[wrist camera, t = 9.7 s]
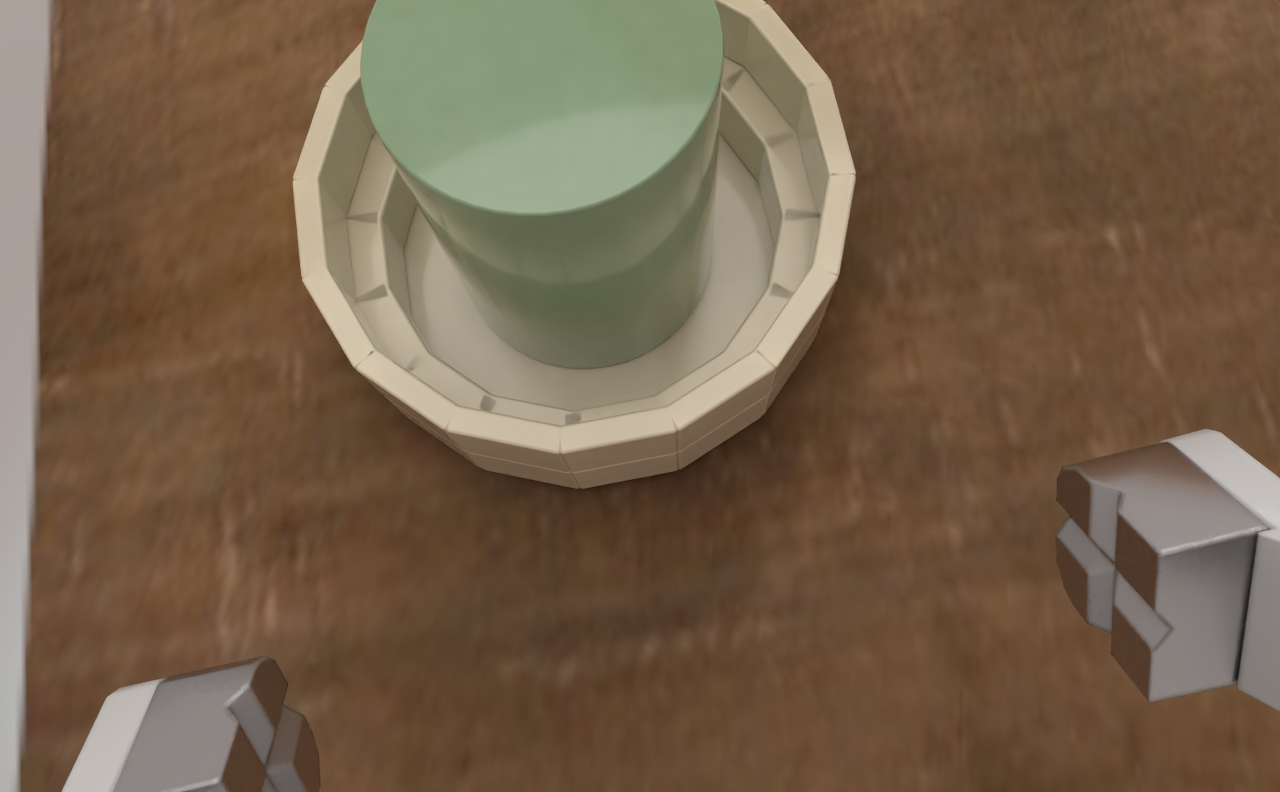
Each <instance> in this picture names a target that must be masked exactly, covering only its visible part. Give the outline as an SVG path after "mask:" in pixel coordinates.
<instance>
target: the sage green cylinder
mask: <svg viewBox="0 0 1280 792" xmlns="http://www.w3.org/2000/svg"><path fill="white" fill-rule="evenodd" d="M723 63H724V37H723V31H722V25H721V19H720V15H719V12H718V9H717V6H716V2H715V0H377V1H376V2H375V5H374V7H373V10H372V12H371V15H370V17H369V20H368V22H367V26H366V30H365V34H364V38H363V42H362V51H361V61H360V71H361V86H362V92H363V97H364V102H365V106H366V108H367V111H368V114H369V117H370V120H371V122H372V125H373V127H374V128H375V130H376V132H377V134H378V136H379V138H380V139H381V141H382V143H383V145H384V147H385V148H386V150H387V152H388V154H389V155H390V157H391V159H392V161H393V162H394V164H395V166H396V168H397V170H398V171H399V173H400V175H401V177H402V178H403V180H404V182H405V184H406V185H407V187H408V189H409V191H410V192H411V194H412V196H413V198H414V199H415V201H416V203H417V205H418V207H419V208H420V210H421V212H422V214H423V215H424V217H425V219H426V221H427V222H428V224H429V226H430V228H431V229H432V231H433V233H434V235H435V237H436V238H437V240H438V242H439V244H440V245H441V247H442V249H443V251H444V252H445V254H446V256H447V258H448V259H449V261H450V263H451V265H452V267H453V268H454V270H455V272H456V274H457V275H458V277H459V279H460V281H461V282H462V284H463V286H464V288H465V289H466V291H467V293H468V295H469V296H470V298H471V300H472V302H473V304H474V305H475V307H476V309H477V311H478V312H479V314H480V316H481V317H482V318H483V320H484V321H485V322H486V324H487V325H488V326H489V328H490V329H491V330H492V331H493V332H494V333H495V334H496V335H497V336H498V337H499V338H500V339H502V340H503V341H504V342H506V343H507V344H508V345H510V346H511V347H512V348H514V349H516V350H517V351H519V352H521V353H523V354H524V355H526V356H528V357H531V358H533V359H536V360H538V361H541V362H544V363H548V364H551V365H555V366H560V367H568V368H599V367H607V366H611V365H615V364H619V363H623V362H626V361H629V360H632V359H634V358H637V357H639V356H641V355H643V354H645V353H647V352H649V351H651V350H652V349H654V348H656V347H657V346H659V345H660V344H661V343H663V342H664V341H666V340H667V339H668V338H670V337H671V336H672V335H673V334H674V333H675V332H676V331H677V330H678V329H679V328H680V327H681V326H682V325H683V324H684V322H685V321H686V320H687V319H688V318H689V316H690V315H691V314H692V312H693V311H694V309H695V307H696V306H697V304H698V302H699V301H700V299H701V296H702V294H703V292H704V289H705V287H706V284H707V281H708V277H709V274H710V269H711V262H712V252H713V234H714V217H715V200H716V183H717V166H718V149H719V132H720V114H721V97H722V80H723Z"/></svg>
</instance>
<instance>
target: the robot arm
mask: <svg viewBox="0 0 1280 792" xmlns="http://www.w3.org/2000/svg"><path fill="white" fill-rule="evenodd" d="M1056 500H1057V501H1058V502H1059V504H1060V505H1061V506H1062V507H1063V508H1064V509H1065V511H1066V512H1067V513H1068V514H1069V515H1070V516H1069V517H1068V519H1067V520H1066V522H1065V523H1064V525H1063V526H1062V527H1061V529H1060V530H1059V532H1058V533H1057V535H1056V550H1057V564H1058V567H1059V571H1060V574H1061V578H1062V581H1063V585H1064V588H1065V590H1066V592H1067V594H1068V595H1069V597H1070V599H1071V601H1072V603H1073V605H1074V607H1075V608H1076V609H1077V611H1078V612H1079V613H1080V615H1081V616H1082V617H1083V619H1084V620H1085V621H1086V623H1088V624H1090V625H1093V626H1095V627H1097V628H1100V629H1102V630H1104V631H1106V632H1109V633H1111V634H1112V640H1111V655H1112V656H1113V657H1114V658H1115V660H1116V661H1117V662H1118V664H1119V665H1120V666H1121V667H1122V669H1123V670H1124V671H1125V672H1126V674H1127V675H1128V676H1129V677H1130V679H1131V680H1132V681H1133V682H1134V684H1135V685H1136V686H1137V688H1138V689H1139V690H1140V691H1141V693H1142V694H1143V695H1144V696H1145V698H1146V699H1147V700H1148V701H1149V703H1151V702H1155V701H1160V700H1165V699H1169V698H1174V697H1179V696H1183V695H1188V694H1193V693H1197V692H1202V691H1207V690H1211V689H1216V688H1221V687H1225V686H1230V685H1235V684H1237V689H1239V690H1241V691H1243V692H1245V693H1247V694H1248V695H1250V696H1252V697H1254V698H1256V699H1258V700H1260V701H1261V702H1263V703H1265V704H1267V705H1269V706H1271V707H1273V708H1274V709H1276V710H1278V711H1280V478H1279V477H1277V476H1276V475H1275V474H1274V473H1272V472H1271V471H1270V470H1268V469H1267V468H1266V467H1265V466H1263V465H1262V464H1261V463H1259V462H1258V461H1257V460H1256V459H1254V458H1253V457H1252V456H1250V455H1249V454H1248V453H1246V452H1245V451H1244V450H1243V449H1241V448H1240V447H1239V446H1237V445H1236V444H1235V443H1234V442H1232V441H1231V440H1230V439H1228V438H1227V437H1226V436H1225V435H1223V434H1222V433H1220V432H1217V431H1214V430H1210V429H1204V430H1200V431H1196V432H1192V433H1188V434H1185V435H1181V436H1177V437H1173V438H1169V439H1166V440H1162V441H1159V442H1158V443H1157V444H1152V445H1148V446H1144V447H1140V448H1136V449H1132V450H1128V451H1123V452H1119V453H1115V454H1111V455H1107V456H1103V457H1099V458H1095V459H1091V460H1087V461H1082V462H1078V463H1074V464H1070V465H1066V466H1062V468H1061V470H1060V473H1059V476H1058V478H1057V499H1056ZM287 687H288V682H287V681H286V679H285V677H284V675H283V674H282V672H281V670H280V668H279V666H278V665H277V663H276V661H275V660H273V659H271V658H268V657H265V656H262V657H257V658H253V659H248V660H243V661H239V662H234V663H229V664H225V665H220V666H215V667H211V668H206V669H202V670H197V671H192V672H188V673H183V674H178V675H174V676H169V677H167V678H166V679H158V680H153V681H149V682H144V683H140V684H136V685H131V686H127V687H122V688H119V689H118V690H116V691H115V692H113V693H112V694H111V695H109V696H108V697H107V698H106V700H105V702H104V704H103V706H102V708H101V710H100V712H99V714H98V716H97V718H96V720H95V723H94V725H93V727H92V729H91V731H90V733H89V735H88V737H87V739H86V741H85V744H84V746H83V748H82V750H81V752H80V754H79V756H78V758H77V760H76V762H75V765H74V767H73V769H72V771H71V773H70V775H69V777H68V779H67V781H66V783H65V786H64V788H63V790H62V792H319V789H320V767H319V753H318V750H317V746H316V743H315V739H314V736H313V732H312V730H311V728H310V726H309V724H308V722H307V720H306V718H305V716H304V715H303V714H301V713H299V712H297V711H295V710H293V709H291V708H290V707H288V706H286V705H284V704H283V703H284V699H285V695H286V691H287Z"/></svg>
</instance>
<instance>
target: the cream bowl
mask: <svg viewBox="0 0 1280 792" xmlns="http://www.w3.org/2000/svg"><path fill="white" fill-rule="evenodd" d="M715 2H716V6H717V9H718V12H719V15H720V19H721V25H722V31H723V37H724V63H723V80H722V97H721V114H720V132H719V149H718V166H717V183H716V200H715V217H714V234H713V252H712V262H711V269H710V274H709V277H708V281H707V284H706V287H705V289H704V292H703V294H702V296H701V299H700V301H699V302H698V304H697V306H696V307H695V309H694V311H693V312H692V314H691V315H690V316H689V318H688V319H687V320H686V321H685V322H684V324H683V325H682V326H681V327H680V328H679V329H678V330H677V331H676V332H675V333H674V334H673V335H672V336H671V337H670V338H668V339H667V340H666V341H664V342H663V343H661V344H660V345H659V346H657V347H656V348H654V349H652V350H651V351H649V352H647V353H645V354H643V355H641V356H639V357H637V358H634V359H632V360H629V361H626V362H623V363H619V364H615V365H611V366H607V367H599V368H568V367H560V366H555V365H551V364H548V363H544V362H541V361H538V360H536V359H533V358H531V357H528V356H526V355H524V354H523V353H521V352H519V351H517V350H516V349H514V348H512V347H511V346H510V345H508V344H507V343H506V342H504V341H503V340H502V339H500V338H499V337H498V336H497V335H496V334H495V333H494V332H493V331H492V330H491V329H490V328H489V326H488V325H487V324H486V322H485V321H484V320H483V318H482V317H481V316H480V314H479V312H478V311H477V309H476V307H475V305H474V304H473V302H472V300H471V298H470V296H469V295H468V293H467V291H466V289H465V288H464V286H463V284H462V282H461V281H460V279H459V277H458V275H457V274H456V272H455V270H454V268H453V267H452V265H451V263H450V261H449V259H448V258H447V256H446V254H445V252H444V251H443V249H442V247H441V245H440V244H439V242H438V240H437V238H436V237H435V235H434V233H433V231H432V229H431V228H430V226H429V224H428V222H427V221H426V219H425V217H424V215H423V214H422V212H421V210H420V208H419V207H418V205H417V203H416V201H415V199H414V198H413V196H412V194H411V192H410V191H409V189H408V187H407V185H406V184H405V182H404V180H403V178H402V177H401V175H400V173H399V171H398V170H397V168H396V166H395V164H394V162H393V161H392V159H391V157H390V155H389V154H388V152H387V150H386V148H385V147H384V145H383V143H382V141H381V139H380V138H379V136H378V134H377V132H376V130H375V128H374V127H373V125H372V122H371V120H370V117H369V114H368V111H367V108H366V106H365V102H364V97H363V92H362V86H361V71H360V61H361V51H362V42H363V41H362V42H361V43H360V44H359V45H358V46H357V48H356V49H355V50H354V51H353V52H352V53H351V55H350V56H349V57H348V58H347V59H346V60H345V62H344V63H343V64H342V65H341V66H340V67H339V69H338V70H337V71H336V72H335V73H334V74H333V76H332V77H331V78H330V79H329V80H328V81H327V83H326V84H325V87H324V88H323V90H322V93H321V96H320V99H319V102H318V105H317V108H316V111H315V114H314V117H313V120H312V123H311V126H310V129H309V132H308V135H307V138H306V141H305V144H304V147H303V150H302V153H301V155H300V158H299V161H298V164H297V167H296V170H295V173H294V176H293V180H294V181H293V193H294V204H295V214H296V225H297V235H298V246H299V256H300V267H301V277H302V282H303V283H304V285H305V287H306V288H307V290H308V292H309V293H310V295H311V297H312V299H313V300H314V302H315V304H316V305H317V307H318V309H319V310H320V312H321V314H322V315H323V317H324V319H325V320H326V322H327V324H328V326H329V327H330V329H331V331H332V332H333V334H334V336H335V337H336V339H337V341H338V342H339V344H340V346H341V347H342V349H343V351H344V353H345V354H346V356H347V358H348V359H349V361H350V363H351V364H352V366H353V367H354V368H355V369H356V370H357V371H358V372H359V373H360V374H361V375H362V376H363V377H364V378H365V379H366V380H367V381H368V382H370V383H371V384H372V385H373V386H374V387H375V388H376V389H377V390H378V391H379V392H380V393H381V394H382V395H384V396H385V397H386V398H387V399H388V400H389V401H390V402H391V403H392V404H393V405H394V406H395V407H396V408H397V409H398V410H399V411H400V412H402V413H403V414H404V415H405V416H406V417H407V418H408V419H410V420H411V421H413V422H414V423H416V424H417V425H419V426H420V427H421V428H423V429H424V430H426V431H427V432H429V433H430V434H432V435H433V436H434V437H436V438H437V439H439V440H440V441H442V442H443V443H445V444H446V445H447V446H449V447H450V448H452V449H453V450H455V451H456V452H457V453H459V454H460V455H462V456H463V457H465V458H466V459H468V460H469V461H470V462H472V463H473V464H475V465H476V466H478V467H480V468H482V469H484V470H487V471H492V472H497V473H502V474H507V475H512V476H517V477H521V478H526V479H531V480H536V481H541V482H546V483H551V484H556V485H561V486H565V487H570V488H575V489H579V488H582V489H584V488H589V487H594V486H600V485H605V484H610V483H615V482H621V481H626V480H631V479H636V478H642V477H647V476H652V475H657V474H663V473H668V472H673V471H677V470H678V468H679V469H682V468H684V467H685V466H687V465H688V464H690V463H691V462H693V461H695V460H696V459H698V458H699V457H701V456H702V455H704V454H705V453H707V452H708V451H710V450H711V449H713V448H715V447H716V446H718V445H719V444H721V443H722V442H724V441H725V440H727V439H728V438H730V437H731V436H733V435H735V434H736V433H738V432H739V431H741V430H742V429H744V428H745V427H747V426H748V425H750V424H752V423H753V422H755V421H756V420H758V419H759V418H761V416H762V415H763V414H765V413H766V411H767V410H768V408H769V407H770V405H771V404H772V402H773V401H774V399H775V398H776V396H777V395H778V393H779V392H780V390H781V389H782V387H783V386H784V384H785V383H786V381H787V380H788V378H789V377H790V376H791V374H792V373H793V371H794V370H795V368H796V367H797V365H798V364H799V362H800V361H801V359H802V358H803V356H804V355H805V353H806V352H807V350H808V349H809V347H810V346H811V344H812V343H813V341H814V340H815V338H816V335H817V333H818V330H819V327H820V325H821V322H822V319H823V316H824V314H825V311H826V309H827V306H828V304H829V301H830V298H831V295H832V293H833V290H834V287H835V285H836V282H837V279H838V277H839V274H840V268H841V262H842V256H843V250H844V245H845V239H846V233H847V227H848V221H849V216H850V210H851V204H852V198H853V192H854V187H855V181H856V177H855V175H856V171H855V168H854V164H853V160H852V157H851V153H850V149H849V146H848V142H847V138H846V135H845V131H844V127H843V124H842V120H841V116H840V113H839V109H838V105H837V102H836V98H835V95H834V91H833V87H832V84H831V81H830V79H829V78H828V76H827V75H826V74H825V72H824V71H823V70H822V69H821V68H820V66H819V65H818V64H817V63H816V61H815V60H814V59H813V58H812V57H811V55H810V54H809V53H808V52H807V51H806V49H805V48H804V47H803V46H802V44H801V43H800V42H799V41H798V40H797V38H796V37H795V36H794V35H793V34H792V32H791V31H790V30H789V29H788V27H787V26H786V25H785V24H784V23H783V21H782V20H781V19H780V18H779V16H778V15H777V14H776V13H775V12H774V10H773V9H772V8H771V7H770V6H769V5H768V4H766V2H765V1H763V0H715Z"/></svg>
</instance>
